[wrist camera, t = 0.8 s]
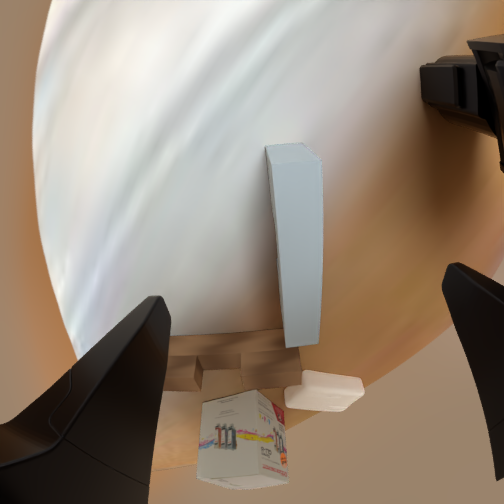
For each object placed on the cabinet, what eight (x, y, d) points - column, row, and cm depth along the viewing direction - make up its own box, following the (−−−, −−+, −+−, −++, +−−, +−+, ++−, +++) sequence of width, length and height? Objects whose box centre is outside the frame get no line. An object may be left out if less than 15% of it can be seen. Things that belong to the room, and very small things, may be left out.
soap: (281, 389, 32) (283, 409, 29) (304, 366, 29) (307, 388, 27) (337, 396, 34) (341, 414, 31) (362, 375, 31) (368, 394, 29)
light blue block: (302, 142, 17) (321, 160, 12) (307, 299, 23) (318, 343, 19) (265, 145, 17) (271, 164, 13) (280, 302, 24) (285, 347, 19)
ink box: (285, 411, 35) (291, 485, 25) (234, 422, 37) (233, 491, 27) (256, 387, 31) (259, 477, 21) (200, 401, 33) (193, 480, 23)
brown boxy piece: (294, 326, 25) (301, 370, 21) (295, 342, 27) (301, 384, 22) (152, 336, 26) (141, 376, 22) (160, 351, 27) (151, 389, 23)
